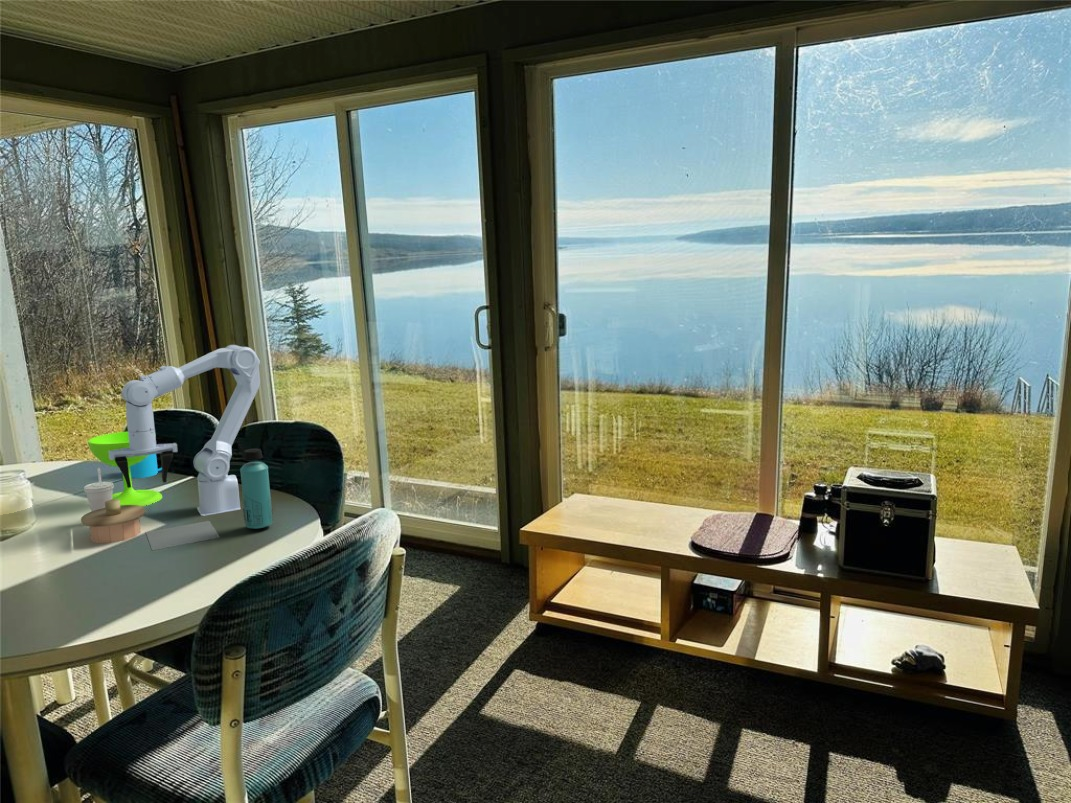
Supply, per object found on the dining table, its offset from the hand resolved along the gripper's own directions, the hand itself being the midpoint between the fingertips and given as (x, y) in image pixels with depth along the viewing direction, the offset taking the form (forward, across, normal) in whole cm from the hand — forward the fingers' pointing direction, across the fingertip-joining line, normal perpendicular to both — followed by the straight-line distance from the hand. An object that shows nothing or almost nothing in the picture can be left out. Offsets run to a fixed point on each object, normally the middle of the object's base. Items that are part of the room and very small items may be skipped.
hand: (146, 484), depth 174 cm
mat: (+10, -5, +14) cm, 18 cm away
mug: (+11, -5, -54) cm, 55 cm away
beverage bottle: (+10, -21, +20) cm, 31 cm away
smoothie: (+11, +10, -9) cm, 17 cm away
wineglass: (+11, +3, -25) cm, 27 cm away
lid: (+6, +8, +5) cm, 11 cm away
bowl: (+10, +8, +5) cm, 14 cm away
